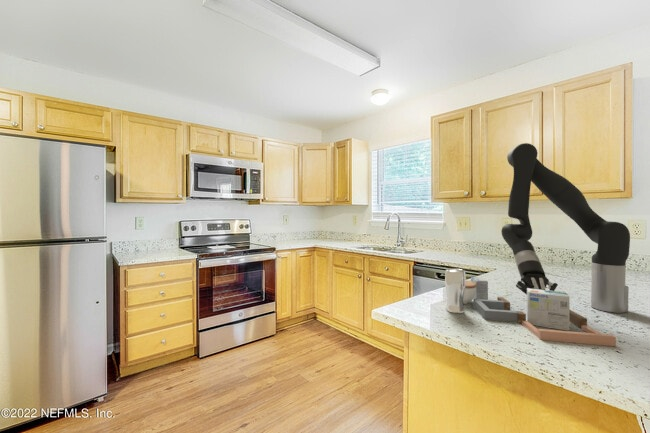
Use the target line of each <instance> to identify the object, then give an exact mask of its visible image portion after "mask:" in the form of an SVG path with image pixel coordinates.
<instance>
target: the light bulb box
mask: <svg viewBox="0 0 650 433" xmlns="http://www.w3.org/2000/svg"><path fill="white" fill-rule="evenodd" d="M569 310H571V309H570V296H569V294H567V292H566V291H559V290H558V291H557V290H554V291H550V290H549V289H546V290H540V289H530V288H527V295H526V321H528V322H529V323H531V324H532V325H533V326H534V327H536V326H537V327H542V328H549V329H553V330H559V331H570V322H569Z"/></svg>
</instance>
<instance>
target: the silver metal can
mask: <svg viewBox="0 0 650 433" xmlns="http://www.w3.org/2000/svg"><path fill="white" fill-rule="evenodd" d="M466 281H467V280H466V270H465V269H462V268H461V269H460V268H446V269H445V274H444V288H445V293H446V298H447V299H446V300H447V301H446V302H447V303H446V306H445V310H446V311H447V312H449V313H452V314H463V313H465V308H464V304H463V298H464V293H465V287H466Z"/></svg>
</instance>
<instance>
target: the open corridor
mask: <svg viewBox="0 0 650 433" xmlns="http://www.w3.org/2000/svg"><path fill="white" fill-rule="evenodd" d="M496 298H497V299H496V300H500V301H503V302H504V310H510V311H511V302H510V301H509V300H507V299H506V298H504V297H503V296H497V297H496ZM515 311H516V312H517V313H518V322H517V323H519V324H522V321H527V313H525V312H524V311H521V310H515ZM569 323H570V324H572V325H574V326H576V327H577V328H579V329H582V325H585V326H588V318H586V317H584V316H582V315H581V314H579V313H577V312H576V311H573V310H572V309H570V310H569Z"/></svg>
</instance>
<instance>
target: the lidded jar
mask: <svg viewBox="0 0 650 433" xmlns="http://www.w3.org/2000/svg"><path fill="white" fill-rule="evenodd" d="M475 293H476V283H474V282H471V280H470V281H469V280H466V287H465V293H464V298H463V305H465V304H470V303H471V302H473V299H474V297H475Z"/></svg>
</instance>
